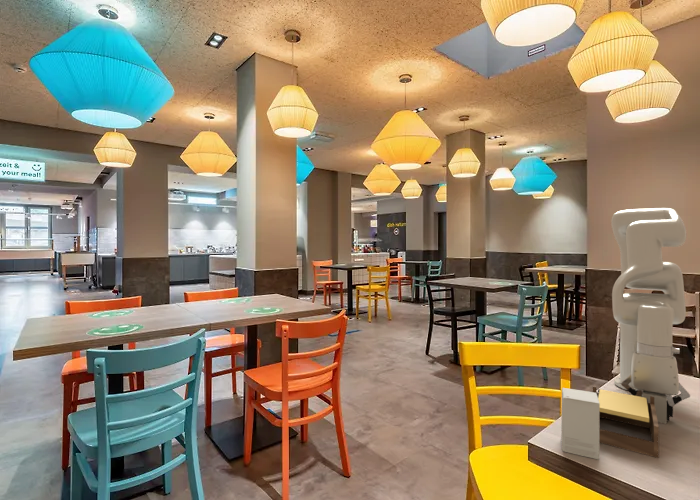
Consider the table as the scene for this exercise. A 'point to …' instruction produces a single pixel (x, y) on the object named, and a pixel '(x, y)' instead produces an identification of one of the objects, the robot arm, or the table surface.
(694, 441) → the table surface
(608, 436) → the trapdoor frame
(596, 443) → the supplement box
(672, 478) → the table surface
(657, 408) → the plain grey carton
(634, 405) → the trapdoor
